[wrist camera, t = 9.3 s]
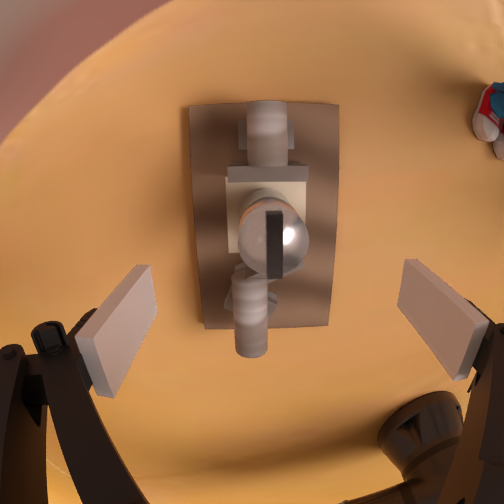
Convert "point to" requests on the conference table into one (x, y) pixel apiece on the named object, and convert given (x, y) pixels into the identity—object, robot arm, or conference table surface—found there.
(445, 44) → the conference table surface
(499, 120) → the toy
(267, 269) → the cylinder
